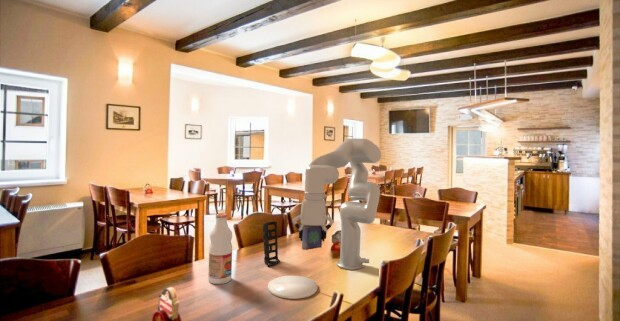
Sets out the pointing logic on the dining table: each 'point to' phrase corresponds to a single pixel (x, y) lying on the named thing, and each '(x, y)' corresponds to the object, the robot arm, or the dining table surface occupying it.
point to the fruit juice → (220, 251)
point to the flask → (312, 237)
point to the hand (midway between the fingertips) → (312, 240)
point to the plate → (292, 287)
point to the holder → (266, 244)
